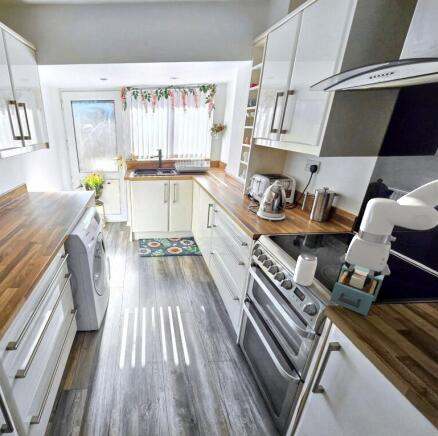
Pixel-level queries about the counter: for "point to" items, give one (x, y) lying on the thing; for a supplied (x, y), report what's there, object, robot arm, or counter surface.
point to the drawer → (353, 295)
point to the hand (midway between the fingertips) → (357, 282)
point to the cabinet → (378, 278)
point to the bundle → (358, 279)
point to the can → (305, 269)
